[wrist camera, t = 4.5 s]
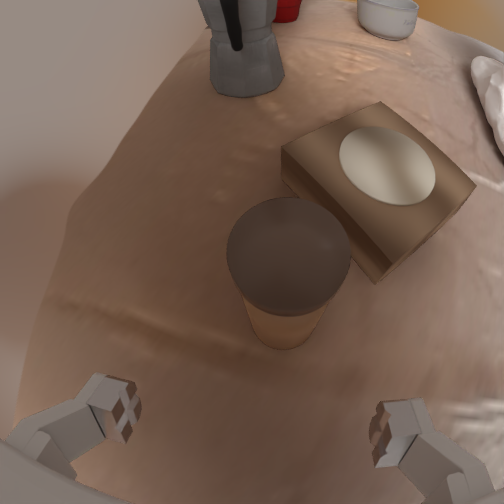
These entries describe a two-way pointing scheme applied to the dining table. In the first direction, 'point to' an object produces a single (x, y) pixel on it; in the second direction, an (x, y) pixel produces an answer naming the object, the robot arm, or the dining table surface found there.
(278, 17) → the plastic cup
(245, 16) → the coffeepot
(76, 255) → the dining table surface
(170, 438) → the dining table surface
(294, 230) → the brown capped cylinder
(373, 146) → the display plinth
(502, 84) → the bust
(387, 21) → the teacup
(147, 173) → the dining table surface
